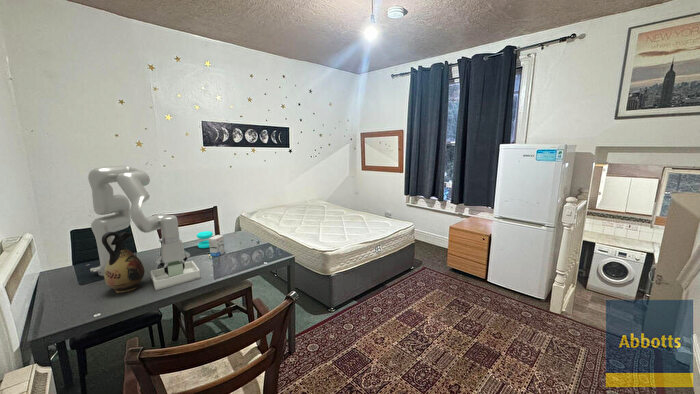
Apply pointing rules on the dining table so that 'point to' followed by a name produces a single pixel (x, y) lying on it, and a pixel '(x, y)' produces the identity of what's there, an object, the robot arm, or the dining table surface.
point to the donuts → (204, 236)
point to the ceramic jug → (122, 264)
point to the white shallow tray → (163, 280)
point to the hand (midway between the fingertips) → (175, 271)
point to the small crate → (175, 268)
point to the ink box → (216, 245)
